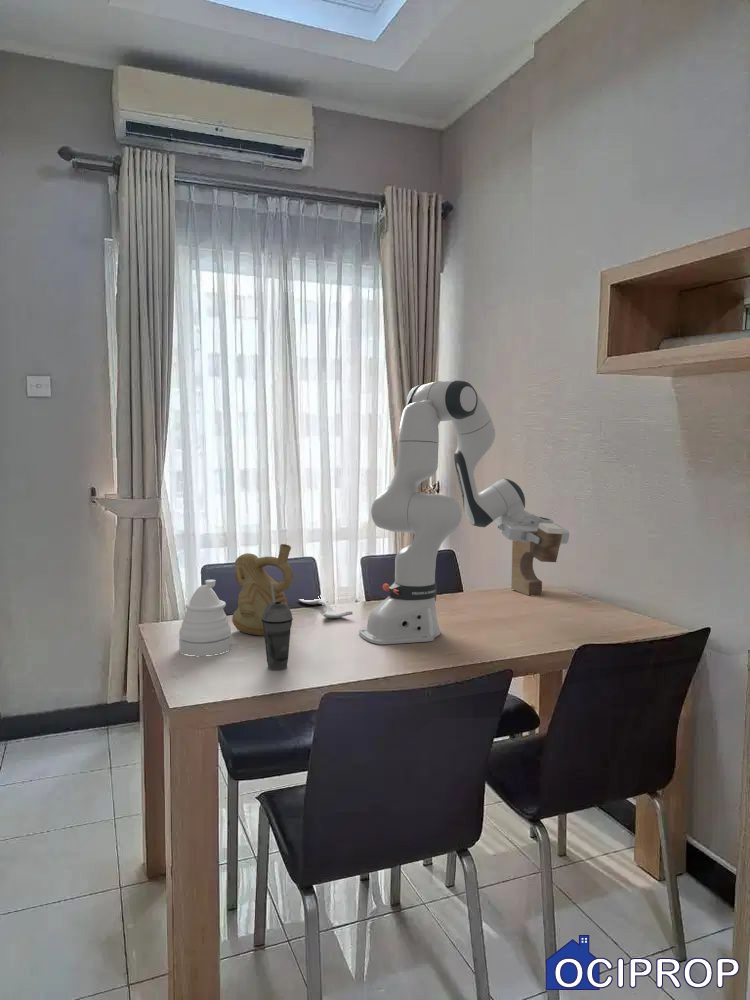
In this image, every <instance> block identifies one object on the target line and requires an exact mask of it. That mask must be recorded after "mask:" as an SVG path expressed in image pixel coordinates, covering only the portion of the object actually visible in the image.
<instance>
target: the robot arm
mask: <svg viewBox="0 0 750 1000" xmlns="http://www.w3.org/2000/svg"><path fill="white" fill-rule="evenodd" d="M405 401H406V402H405V403H406V405H405V407H404V409H403V411H402V415H401V419H400V424H399V432H398V445H397V447H398V448H397V460H396V468H395V472H394V475H393V477H392V480H391V481H390V483H389V484H388V486H387V487H386V488H385V490H383V491H382V492H381V493H380V494H378V495H377V496H376V498H375V499H374V500H373V503H372V505H371V509H370V513H371V514H370V515H371V518H372V522H373V523H374V526H376V527H378V528H380V529H383V530H385V531H389V532H396V533H409V534H411V533H412V534H414V537H413V541H412V543H411V544H408V545H406V546H404V547H403V548H401V549H400V550H399V551H397V553H396V555H395V559H394V582H393V583H392V584H391V585H390V584H388V583H383V585H382V587H381V588H382V590H383V591H385V592H388V596H387V597H386V598H385V599H384V600H383V601H382V602H380V603H379V604H378V605H377V606H376V607H374V608H373V609H371V611H370V612H369V615H368V618H367V624H366V627H362V628H360V629H359V636H360V637H361V638H362V639H363V640H365V641H368V642H370V643H372V644H375V645H394V644H397V645H398V644H407V643H408V644H410V643H423V642H424V643H425V642H433V641H434V640H435V638H436V637H438V636H440V634H441V630H440V627H439V621H438V617H437V607H436V601H437V582H436V566H437V565H436V562H437V555H438V552H439V550H440V547H441V546H442V544H443V542H444V541H445V540H446V538H448V537H449V536H451V534H453V533H454V532H455V531H456V530H457V529H458V527H459V526H460V523H461V522H462V514H463V513H462V509H461V505H460V504H459V502H458V500H457V499H456V498H454V497H451V496H448V495H444V494H440V493H436V494H435V493H420V492H418V490H419V487H420V485H421V484H422V482H424V481H426V480H428V479H430V478H431V477H432V476H434V475H435V474H436V472H437V470H438V466H439V465H438V464H439V441H440V440H439V439H440V431H439V426H440V422H447V421H448V422H449V421H451V423H452V425H453V426H452V427H453V429H454V431H455V434H456V437H457V445H456V446H457V447H456V450H455V452H454V454H453V455H454V456H453V457H454V458H453V459H454V460H453V461H454V466H455V469H456V475H457V479H458V483H459V484H458V485H459V488H460V492H461V497H462V502H463V503H462V504H463V505H462V506H463V512H464V515H465V517H466V519H467V520H468V522H469V524H471V525H472V526H475V527H479V528H486V527H487V526H489V525H490V524H492V523H493V522H494V524H495V525H497V529H498V530H501V534H502V535H503V536H504V537H505V538H506V539H508V540H510V541H513V540H514V541H521V542H524V543H527V542H535V543H536V544H541V543H542V538H541V537H540V536H536V535H537V530H538V526H539V523H548V524H555V525H557V526H559V527H561V528H562V529H563V533H562V538H561V542H560V546H561V545H562V544H563V545H564V544H567V543H568V541H569V539H570V532H569V530H568V529H566V528H564V527H563V526H561V525H560V524H557V523H555V522H554V520H553V519H552V518H547V517H542V516H538V515H535V514H534V513H531V512H528V511H526V510H525V508H526V497H525V494H524V492H523V490H522V488H521V486H520V485H519V484H518V483H516V482H515V481H513V480H512V479H509V478H502V479H500V480H497V481H495V482H494V483H493V484H491V485H490V486H488V487H487V488H485V489H484V490H482V491H480V492H478V488H477V485H476V481H475V480H476V479H475V475H474V474H475V470H476V467H477V465H478V463H480V460H482V458H483V457H484V456H485V455H486V454H487V453H488V451H489V450H491V447H492V445H493V444H494V441H495V438H496V429H495V425H494V423H493V419H492V417H491V416H490V412H489V411H488V409H487V407H486V405H485V403H484V401H483V400H482V398H481V396H480V395H479V393H478V392H477V391H476V389H475V388H474V386H473V385H472V384H471V383H469V382H468V381H464V380H453V381H452V380H450V381H449V380H447V381H446V380H445V381H442V380H440V381H439V380H438V381H434V382H433V381H432V382H429V383H422V384H421V383H420V384H419V385H416V386H414V387H412V388H411V390H410V391H409V392H408V394H407V397H406V400H405Z"/></svg>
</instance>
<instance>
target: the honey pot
mask: <svg viewBox="0 0 750 1000" xmlns="http://www.w3.org/2000/svg"><path fill="white" fill-rule="evenodd" d="M216 580H217V579H206V580H205V581H204V582H205V584H201V585H200V586H199V587H197V589H196V590H195V591H194V592H193V595H192V596H191V598H190V600H189V602H187V603H186V604H185V609H186V611H185V614H184V616H183V618H182V622H181V626H180V628H179V632H178V634H179V638H178V641H179V643H178V644H179V645H178V646H179V653H180V652H181V653H183V654H188V655H195V656H206V655H215V654H220V653H223V652H226V651H228V650H230V651H231V649H232V635H231V634H232V633H231V631H232V630H231V626H230V624H229V620H228V619H227V614H226V613H225V611H224V609H225V607H226V605H227V603H226V601H224V600H221V599H219V597H218V595H217V594H216V592H215V591H214V589H213V588H214V587H215V586H216V582H217V581H216ZM230 648H231V649H230ZM228 652H229V651H228ZM181 653H180V654H181ZM226 653H227V652H226ZM183 654H182V655H183ZM223 654H224V653H223ZM220 655H221V654H220Z"/></svg>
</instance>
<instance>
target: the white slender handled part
mask: <svg viewBox="0 0 750 1000" xmlns="http://www.w3.org/2000/svg"><path fill="white" fill-rule="evenodd" d="M320 597H321V599H320V598H319V596H318V598H319V599H314V600H304V599H298V600H299V601H300V602H301V603H302V604H306V605H315V606H316V605H323V606H324V607H325V612H324V613H322V616H323V618H328V619H337V618H343V617H346V616H351V615H353V611H352V610H350V611H349V610H348V611H346V612H345V611H344V612H343V611H336V610H334V609H333V608H332V607H331V605H329V602H328V600H327V598H326V596H324V595H322V594H320Z"/></svg>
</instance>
